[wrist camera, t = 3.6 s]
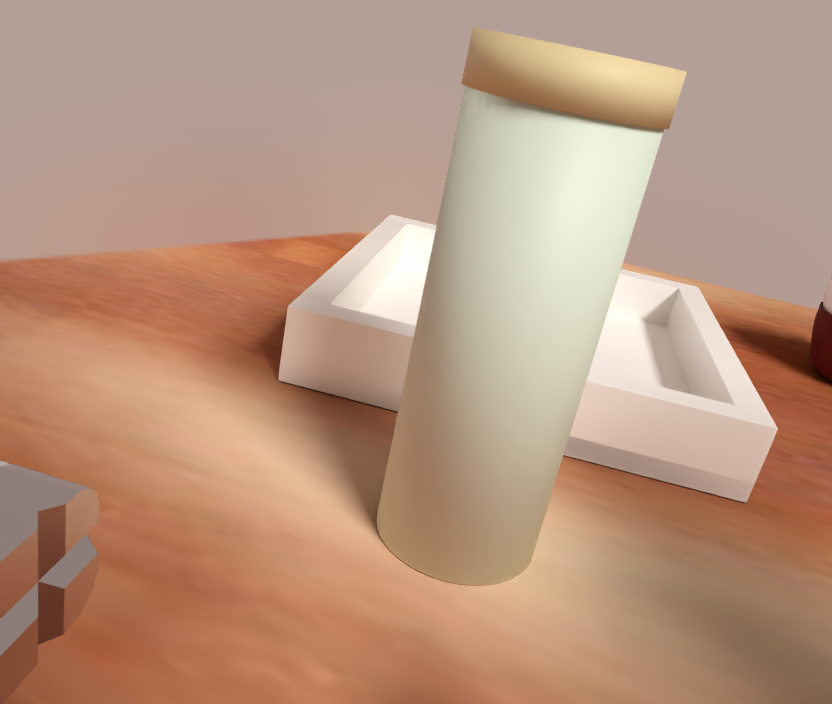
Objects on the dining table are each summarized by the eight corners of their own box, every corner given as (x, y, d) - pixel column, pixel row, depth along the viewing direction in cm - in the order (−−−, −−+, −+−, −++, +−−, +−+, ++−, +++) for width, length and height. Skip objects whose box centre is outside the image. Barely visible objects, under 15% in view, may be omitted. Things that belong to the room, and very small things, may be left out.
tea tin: (354, 558, 20) (460, 23, 15) (392, 468, 25) (484, 31, 20) (532, 608, 20) (703, 74, 15) (538, 508, 24) (672, 69, 19)
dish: (278, 380, 29) (288, 306, 28) (381, 264, 45) (390, 214, 44) (746, 502, 27) (778, 429, 26) (680, 337, 43) (697, 287, 42)
